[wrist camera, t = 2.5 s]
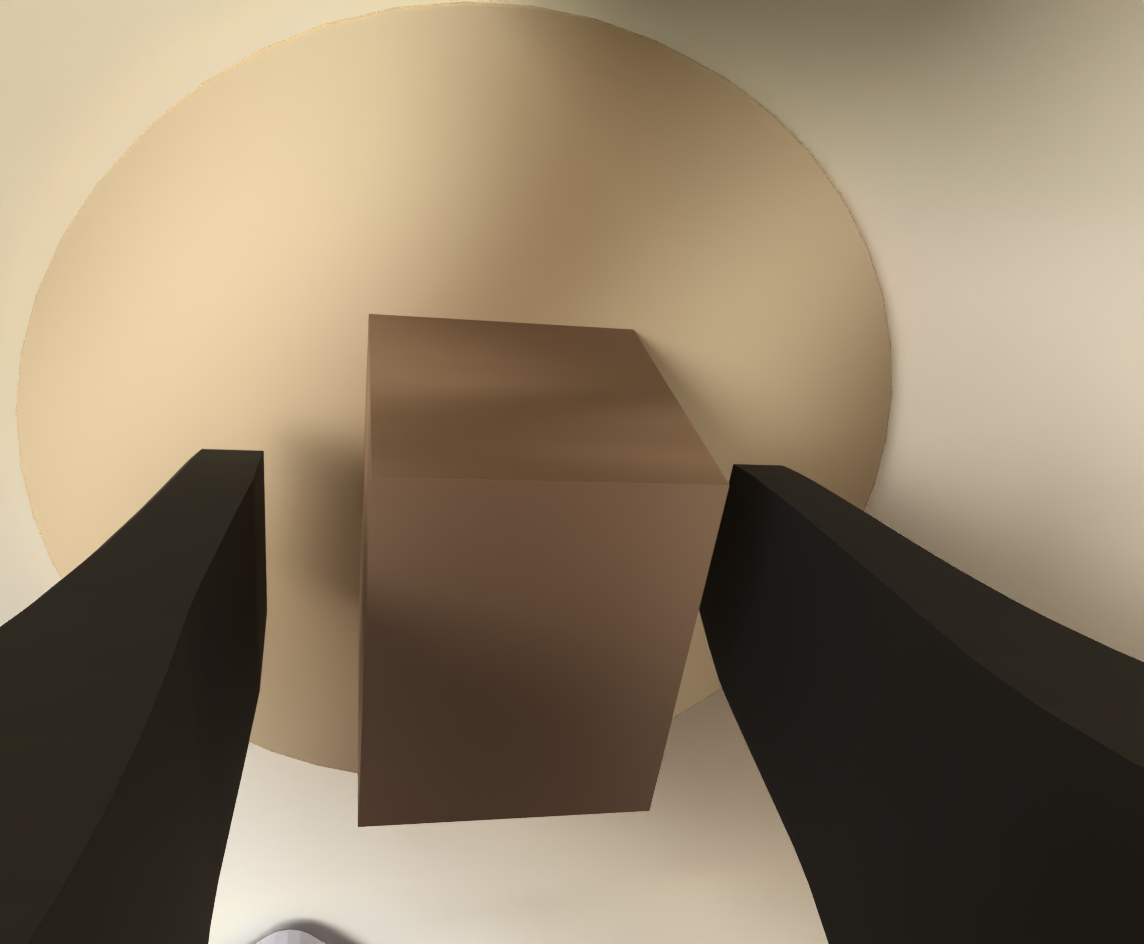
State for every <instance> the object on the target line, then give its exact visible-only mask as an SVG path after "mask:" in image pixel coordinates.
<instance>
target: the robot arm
mask: <svg viewBox="0 0 1144 944" xmlns="http://www.w3.org/2000/svg"><path fill="white" fill-rule="evenodd" d="M699 612H700V616H701V620H702V623H703V627H704V631H705V635H706V638H707V642H708V646H709V649H710V653H711V656H712V659H713V663H714V666H715V669H716V672H717V676H718V679H719V682H720V684H721V686H722V689H723V691H724V693H725V696H726V698H727V700H728V703H729V705H730V707H731V709H732V712H733V714H734V716H735V718H736V721H737V723H738V725H739V727H740V730H741V732H742V734H743V736H744V739H745V741H746V743H747V745H748V747H749V750H750V752H751V754H752V756H753V758H754V760H755V763H756V765H757V767H758V769H759V771H760V774H761V776H762V778H763V780H764V782H765V785H766V787H767V789H768V791H769V793H770V795H771V798H772V800H773V802H774V804H775V806H776V809H777V811H778V813H779V815H780V817H781V820H782V822H783V824H784V826H785V828H786V830H787V833H788V835H789V837H790V839H791V841H792V844H793V846H794V848H795V851H796V853H797V856H798V858H799V861H800V863H801V866H802V868H803V871H804V873H805V876H806V878H807V881H808V883H809V886H810V889H811V892H812V895H813V898H814V901H815V904H816V907H817V910H818V913H819V916H820V919H821V922H822V925H823V928H824V931H825V934H826V937H827V940H828V943H829V944H1144V662H1142V661H1139V660H1137V659H1135V658H1132V657H1130V656H1128V655H1125V654H1123V653H1121V652H1118V651H1116V650H1114V649H1112V648H1110V647H1107V646H1105V645H1103V644H1101V643H1099V642H1097V641H1095V640H1093V639H1091V638H1088V637H1086V636H1084V635H1082V634H1080V633H1078V632H1076V631H1074V630H1071V629H1069V628H1067V627H1065V626H1063V625H1061V624H1059V623H1057V622H1055V621H1052V620H1050V619H1048V618H1046V617H1044V616H1042V615H1041V614H1039V613H1037V612H1035V611H1033V610H1031V609H1029V608H1027V607H1025V606H1023V605H1021V604H1019V603H1017V602H1015V601H1014V600H1012V599H1010V598H1008V597H1006V596H1005V595H1003V594H1001V593H999V592H998V591H996V590H994V589H992V588H990V587H989V586H987V585H985V584H983V583H981V582H980V581H978V580H976V579H974V578H972V577H971V576H969V575H967V574H965V573H963V572H962V571H960V570H958V569H957V568H955V567H953V566H952V565H950V564H948V563H947V562H945V561H943V560H941V559H940V558H938V557H936V556H935V555H933V554H931V553H930V552H928V551H927V550H925V549H923V548H922V547H920V546H918V545H917V544H915V543H913V542H912V541H910V540H909V539H907V538H905V537H904V536H902V535H901V534H899V533H897V532H896V531H894V530H893V529H891V528H889V527H888V526H886V525H885V524H883V523H881V522H880V521H878V520H877V519H875V518H873V517H872V516H870V515H869V514H867V513H865V512H864V511H862V510H861V509H859V508H857V507H856V506H854V505H853V504H851V503H849V502H848V501H846V500H845V499H843V498H841V497H840V496H838V495H836V494H835V493H833V492H832V491H830V490H828V489H826V488H825V487H823V486H821V485H820V484H818V483H816V482H815V481H813V480H811V479H809V478H807V477H806V476H804V475H802V474H800V473H798V472H796V471H794V470H792V469H790V468H787V467H785V466H783V465H749V464H733V467H732V472H731V476H730V480H729V489H728V493H727V497H726V501H725V506H724V510H723V514H722V518H721V522H720V526H719V530H718V534H717V538H716V542H715V546H714V550H713V554H712V558H711V562H710V566H709V570H708V575H707V579H706V583H705V587H704V591H703V595H702V599H701V603H700V607H699ZM266 618H267V576H266V530H265V484H264V451H258V450H222V449H201V450H200V451H198V452H197V453H196V454H195V455H194V456H193V457H191V458H190V459H189V460H188V461H187V462H186V463H185V464H184V465H183V466H182V467H181V468H180V469H179V470H178V471H177V472H176V473H175V474H174V476H173V477H172V478H171V479H170V480H169V481H168V482H167V483H166V484H165V485H164V486H163V487H162V488H161V489H160V490H159V491H158V492H157V493H156V494H155V495H154V496H153V497H152V498H151V499H150V500H149V501H148V502H147V503H146V504H145V505H144V506H143V507H142V508H141V509H140V510H139V511H138V512H137V513H136V514H135V515H134V516H133V517H131V518H130V519H129V520H128V521H127V522H126V523H125V524H124V525H123V526H122V527H121V528H120V529H119V530H118V531H116V532H115V533H114V534H113V535H112V536H111V537H110V538H109V539H108V540H107V541H106V542H105V543H104V544H102V545H101V546H100V547H99V548H98V549H97V550H96V551H95V552H94V553H93V554H91V555H90V556H89V557H88V558H87V559H86V560H85V561H83V562H82V563H81V564H80V565H79V566H77V567H76V568H75V569H74V570H72V571H71V572H70V573H69V574H68V575H66V576H65V577H64V578H63V579H62V580H60V581H59V582H58V583H57V584H55V585H54V586H53V587H52V588H51V589H49V590H48V591H47V592H46V593H44V594H43V595H42V596H41V597H40V598H38V599H37V600H36V601H35V602H33V603H32V604H31V605H30V606H28V607H27V608H26V609H24V610H23V611H22V612H20V613H19V614H18V615H16V616H15V617H13V618H12V619H11V620H9V621H8V622H6V623H5V624H4V625H2V626H1V627H0V944H208V941H209V932H210V925H211V919H212V914H213V908H214V902H215V896H216V891H217V885H218V880H219V875H220V871H221V866H222V862H223V857H224V853H225V848H226V844H227V839H228V835H229V830H230V826H231V821H232V817H233V812H234V807H235V803H236V798H237V794H238V789H239V785H240V780H241V776H242V771H243V767H244V762H245V758H246V753H247V749H248V744H249V739H250V735H251V730H252V726H253V721H254V716H255V712H256V707H257V702H258V697H259V693H260V684H261V673H262V663H263V652H264V641H265V629H266ZM256 944H325V943H324V942H322V941H320V940H318V939H317V938H315V937H313V936H312V935H310V934H308V933H305V932H303V931H300V930H283V931H277V932H275V933H273V934H270V935H268V936H266V937H265V938H263V939H262V940H260V941H259V942H257V943H256Z"/></svg>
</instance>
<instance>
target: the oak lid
mask: <svg viewBox="0 0 1144 944" xmlns="http://www.w3.org/2000/svg"><path fill="white" fill-rule="evenodd" d="M890 401H891V344H890V338H889V332H888V326H887V319H886V313H885V307H884V301H883V296H882V293H881V289H880V286H879V283H878V280H877V277H876V274H875V271H874V267H873V264H872V261H871V258H870V255H869V252H868V249H867V247H866V244H865V242H864V240H863V238H862V236H861V234H860V232H859V230H858V228H857V226H856V224H855V222H854V220H853V218H852V216H851V214H850V212H849V210H848V208H847V206H846V204H845V202H844V200H843V199H842V198H841V196H840V195H839V193H838V192H837V190H836V189H835V188H834V186H833V185H832V183H831V182H830V180H829V179H828V178H827V176H826V175H825V173H824V172H823V171H822V169H821V168H820V166H819V165H818V163H817V162H816V161H815V159H814V158H813V156H812V155H811V154H810V153H809V152H808V151H807V150H806V149H805V148H804V147H803V146H802V145H801V144H800V143H799V142H798V141H797V140H796V139H795V138H794V137H793V135H792V134H791V133H790V132H789V131H788V130H787V129H786V128H785V127H784V126H783V125H782V124H781V123H780V122H779V121H778V120H777V119H776V118H775V117H774V116H773V115H772V114H771V113H770V112H768V111H767V110H766V109H764V108H763V107H762V106H761V105H759V104H758V103H757V102H755V101H754V100H753V99H751V98H750V97H749V96H747V95H746V94H745V93H743V92H742V91H741V90H739V89H738V88H737V87H736V86H734V85H733V84H732V83H730V82H729V81H728V80H726V79H725V78H724V77H722V76H720V75H718V74H716V73H715V72H713V71H711V70H709V69H707V68H705V67H704V66H702V65H700V64H698V63H696V62H694V61H693V60H691V59H689V58H687V57H685V56H683V55H682V54H680V53H678V52H676V51H674V50H672V49H671V48H669V47H667V46H665V45H663V44H661V43H659V42H657V41H655V40H652V39H649V38H646V37H644V36H641V35H638V34H635V33H633V32H630V31H627V30H625V29H622V28H619V27H616V26H614V25H611V24H608V23H605V22H603V21H600V20H597V19H593V18H588V17H583V16H578V15H574V14H569V13H564V12H559V11H554V10H549V9H545V8H540V7H535V6H527V5H510V4H493V3H476V2H455V3H443V4H431V5H419V6H408V7H396V8H391V9H386V10H382V11H378V12H374V13H369V14H365V15H361V16H356V17H352V18H348V19H344V20H339V21H335V22H331V23H327V24H324V25H321V26H319V27H316V28H314V29H311V30H309V31H306V32H304V33H301V34H299V35H296V36H294V37H291V38H289V39H286V40H283V41H281V42H278V43H276V44H273V45H271V46H268V47H266V48H263V49H261V50H259V51H258V52H256V53H254V54H252V55H251V56H249V57H247V58H245V59H244V60H242V61H240V62H239V63H237V64H235V65H233V66H232V67H230V68H228V69H226V70H225V71H223V72H221V73H219V74H218V75H216V76H214V77H213V78H211V79H209V80H207V81H206V82H204V83H202V84H201V85H200V86H199V87H197V88H196V89H195V90H194V91H192V92H191V93H190V94H189V95H187V96H186V97H185V98H184V99H182V100H181V101H180V102H179V103H177V104H176V105H175V106H174V107H172V108H171V109H170V110H169V111H167V112H166V113H165V114H164V115H162V116H161V117H160V118H159V119H157V120H156V121H155V122H154V123H152V124H151V125H150V126H149V127H148V128H147V129H146V130H145V131H144V133H143V134H142V135H141V136H140V137H139V138H138V139H137V140H136V141H135V142H134V144H133V145H132V146H131V147H130V148H129V149H128V150H127V151H126V152H125V153H124V154H123V156H122V157H121V158H120V159H119V160H118V161H117V162H116V163H115V164H114V165H113V166H112V168H111V169H110V170H109V171H108V172H107V173H106V174H105V175H104V176H103V178H102V179H101V180H100V181H99V182H98V183H97V184H96V186H95V187H94V189H93V190H92V192H91V193H90V195H89V196H88V198H87V200H86V201H85V203H84V204H83V206H82V207H81V209H80V210H79V212H78V213H77V215H76V216H75V218H74V219H73V221H72V222H71V224H70V225H69V227H68V228H67V230H66V231H65V233H64V235H63V236H62V238H61V239H60V242H59V244H58V246H57V248H56V251H55V253H54V255H53V257H52V260H51V262H50V264H49V266H48V269H47V271H46V273H45V275H44V278H43V280H42V282H41V284H40V287H39V289H38V291H37V293H36V296H35V300H34V304H33V308H32V312H31V315H30V319H29V323H28V327H27V331H26V335H25V339H24V342H23V346H22V350H21V357H20V368H19V380H18V391H17V403H16V417H17V430H18V443H19V456H20V466H21V470H22V474H23V478H24V482H25V486H26V491H27V495H28V499H29V503H30V507H31V511H32V515H33V518H34V520H35V523H36V525H37V528H38V530H39V532H40V535H41V537H42V540H43V542H44V545H45V547H46V549H47V552H48V554H49V557H50V559H51V561H52V564H53V566H54V567H55V569H56V571H57V572H58V574H59V576H60V577H61V579H63V578H64V577H65V576H66V575H68V574H69V573H70V572H71V571H72V570H74V569H75V568H76V567H77V566H79V565H80V564H81V563H82V562H83V561H85V560H86V559H87V558H88V557H89V556H90V555H91V554H93V553H94V552H95V551H96V550H97V549H98V548H99V547H100V546H101V545H102V544H104V543H105V542H106V541H107V540H108V539H109V538H110V537H111V536H112V535H113V534H114V533H115V532H116V531H118V530H119V529H120V528H121V527H122V526H123V525H124V524H125V523H126V522H127V521H128V520H129V519H130V518H131V517H133V516H134V515H135V514H136V513H137V512H138V511H139V510H140V509H141V508H142V507H143V506H144V505H145V504H146V503H147V502H148V501H149V500H150V499H151V498H152V497H153V496H154V495H155V494H156V493H157V492H158V491H159V490H160V489H161V488H162V487H163V486H164V485H165V484H166V483H167V482H168V481H169V480H170V479H171V478H172V477H173V476H174V474H175V473H176V472H177V471H178V470H179V469H180V468H181V467H182V466H183V465H184V464H185V463H186V462H187V461H188V460H189V459H190V458H191V457H193V456H194V455H195V454H196V453H197V452H198V451H200V450H201V449H222V450H258V451H264V484H265V530H266V576H267V618H266V629H265V641H264V652H263V663H262V673H261V684H260V693H259V697H258V702H257V707H256V712H255V716H254V721H253V726H252V730H251V735H250V739H249V742H251V743H253V744H255V745H258V746H260V747H262V748H265V749H267V750H270V751H272V752H275V753H278V754H282V755H285V756H288V757H292V758H295V759H298V760H301V761H305V762H308V763H311V764H315V765H318V766H323V767H328V768H334V769H339V770H344V771H349V772H354V773H358V827H365V826H383V825H401V824H419V823H437V822H455V821H473V820H491V819H509V818H527V817H545V816H563V815H581V814H599V813H617V812H635V811H649V810H650V806H651V802H652V798H653V794H654V790H655V786H656V782H657V778H658V773H659V769H660V765H661V761H662V757H663V753H664V749H665V745H666V741H667V737H668V733H669V729H670V725H671V721H672V718H674V717H676V716H677V715H679V714H681V713H682V712H684V711H686V710H687V709H689V708H690V707H692V706H694V705H695V704H697V703H699V702H700V701H702V700H703V699H705V698H707V697H708V696H710V695H712V694H713V693H714V692H716V691H717V690H718V689H719V688H721V687H722V686H721V684H720V682H719V679H718V676H717V672H716V669H715V666H714V663H713V659H712V656H711V653H710V649H709V646H708V642H707V638H706V635H705V631H704V627H703V623H702V620H701V616H700V612H699V607H700V603H701V599H702V595H703V591H704V587H705V583H706V579H707V575H708V570H709V566H710V562H711V558H712V554H713V550H714V546H715V542H716V538H717V534H718V530H719V526H720V522H721V518H722V514H723V510H724V506H725V501H726V497H727V493H728V489H729V480H730V476H731V472H732V467H733V464H749V465H783V466H785V467H787V468H790V469H792V470H794V471H796V472H798V473H800V474H802V475H804V476H806V477H807V478H809V479H811V480H813V481H815V482H816V483H818V484H820V485H821V486H823V487H825V488H826V489H828V490H830V491H832V492H833V493H835V494H836V495H838V496H840V497H841V498H843V499H845V500H846V501H848V502H849V503H851V504H853V505H854V506H856V507H857V508H859V509H861V510H862V511H864V509H865V506H866V504H867V501H868V499H869V496H870V494H871V491H872V489H873V486H874V483H875V479H876V475H877V472H878V468H879V464H880V460H881V456H882V452H883V449H884V445H885V441H886V434H887V426H888V417H889V409H890Z"/></svg>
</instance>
